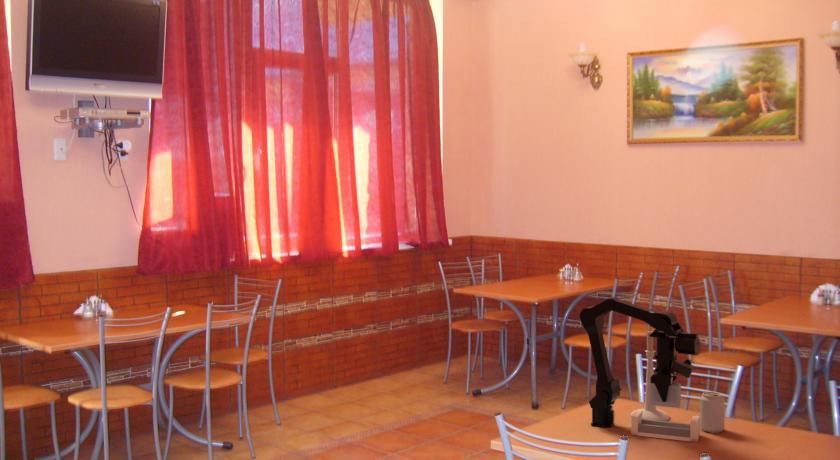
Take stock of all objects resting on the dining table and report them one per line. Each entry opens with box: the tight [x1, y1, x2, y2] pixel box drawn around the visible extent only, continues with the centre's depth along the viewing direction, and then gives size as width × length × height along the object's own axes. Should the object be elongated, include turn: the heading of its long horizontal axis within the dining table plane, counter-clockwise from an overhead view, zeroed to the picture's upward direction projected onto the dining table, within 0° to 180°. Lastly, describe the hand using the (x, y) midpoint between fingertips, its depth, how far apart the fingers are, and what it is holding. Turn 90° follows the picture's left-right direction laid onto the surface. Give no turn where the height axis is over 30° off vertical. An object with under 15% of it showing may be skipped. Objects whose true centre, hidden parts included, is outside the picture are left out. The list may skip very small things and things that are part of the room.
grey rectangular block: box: [650, 382, 682, 409], centre depth 264 cm, size 9×3×7 cm, turn 65°
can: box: [699, 391, 726, 434], centre depth 269 cm, size 8×8×12 cm
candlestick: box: [630, 330, 670, 422], centre depth 284 cm, size 13×13×30 cm
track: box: [630, 409, 701, 443], centre depth 264 cm, size 20×8×6 cm, turn 65°
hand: (665, 400), depth 264 cm, fingers closed on grey rectangular block, 3 cm apart
